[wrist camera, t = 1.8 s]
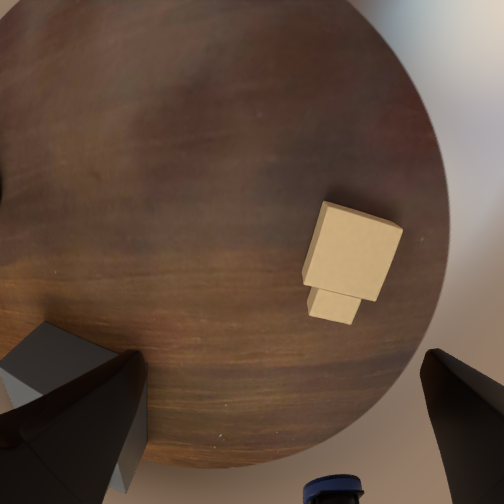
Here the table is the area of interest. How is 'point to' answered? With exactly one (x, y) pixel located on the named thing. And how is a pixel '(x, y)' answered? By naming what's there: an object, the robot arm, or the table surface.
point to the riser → (61, 372)
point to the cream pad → (347, 261)
